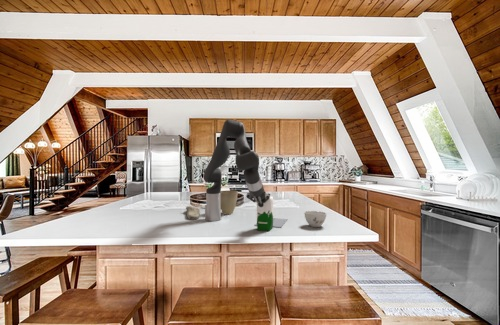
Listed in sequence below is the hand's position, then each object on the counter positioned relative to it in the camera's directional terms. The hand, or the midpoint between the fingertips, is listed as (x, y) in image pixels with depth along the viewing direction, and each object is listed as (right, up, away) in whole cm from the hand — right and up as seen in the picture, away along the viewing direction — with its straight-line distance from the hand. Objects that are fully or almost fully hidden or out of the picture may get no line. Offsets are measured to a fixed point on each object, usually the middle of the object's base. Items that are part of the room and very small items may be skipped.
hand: (261, 205), depth 139 cm
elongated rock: (-46, -15, +47) cm, 68 cm away
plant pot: (-22, -14, +52) cm, 58 cm away
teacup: (+32, -14, +16) cm, 39 cm away
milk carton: (+2, -14, +8) cm, 16 cm away
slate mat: (+7, -14, +23) cm, 28 cm away
